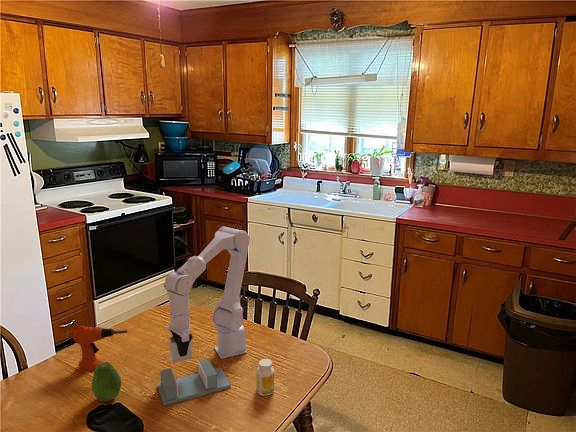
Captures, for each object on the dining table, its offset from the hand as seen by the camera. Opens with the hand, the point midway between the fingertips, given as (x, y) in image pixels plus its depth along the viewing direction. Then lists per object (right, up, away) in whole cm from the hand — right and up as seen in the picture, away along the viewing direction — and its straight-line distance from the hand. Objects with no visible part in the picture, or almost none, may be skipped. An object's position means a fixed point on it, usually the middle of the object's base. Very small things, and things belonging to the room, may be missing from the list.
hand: (181, 351), depth 135 cm
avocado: (-19, -12, -8) cm, 24 cm away
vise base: (+4, -10, -2) cm, 11 cm away
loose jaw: (+8, -9, 0) cm, 12 cm away
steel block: (0, -2, 0) cm, 2 cm away
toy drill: (-27, -8, +8) cm, 30 cm away
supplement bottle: (+26, -11, -3) cm, 29 cm away
